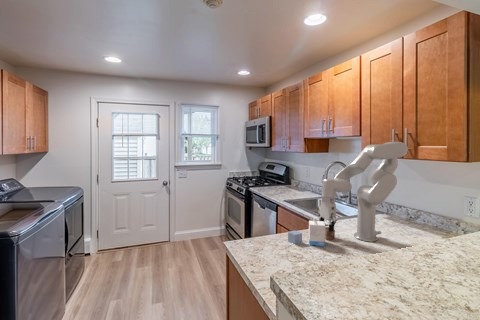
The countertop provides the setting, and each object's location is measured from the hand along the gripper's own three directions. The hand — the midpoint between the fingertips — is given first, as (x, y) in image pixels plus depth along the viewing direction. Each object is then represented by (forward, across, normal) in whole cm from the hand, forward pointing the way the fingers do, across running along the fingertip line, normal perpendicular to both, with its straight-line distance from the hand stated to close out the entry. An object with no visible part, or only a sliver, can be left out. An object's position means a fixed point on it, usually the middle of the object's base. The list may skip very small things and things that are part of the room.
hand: (326, 228), depth 148 cm
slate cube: (+7, -1, +21) cm, 22 cm away
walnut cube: (+6, 0, -1) cm, 6 cm away
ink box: (+6, -6, +10) cm, 13 cm away
